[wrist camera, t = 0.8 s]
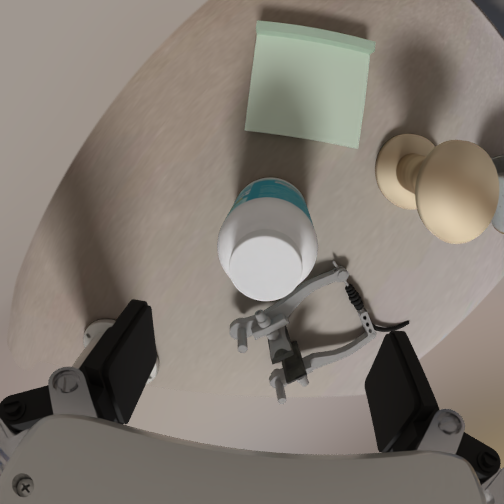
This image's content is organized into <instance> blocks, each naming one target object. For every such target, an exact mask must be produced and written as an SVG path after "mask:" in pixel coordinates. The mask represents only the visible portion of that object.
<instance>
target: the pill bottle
mask: <svg viewBox="0 0 504 504" xmlns="http://www.w3.org/2000/svg"><path fill="white" fill-rule="evenodd" d="M217 248H218V256H219V260H220V262H221V265H222V267H223V269H224V271H225V272H226V274H227V275H228V276H229V277H230V278H231V280H232V282H233V284H234V285H235V287H236V288H237V289H238V290H239V291H240V292H241V293H243V294H244V295H246V296H248V297H250V298H252V299H255V300H259V301H273V300H278V299H281V298H283V297H285V296H287V295H288V294H290V293H291V292H292V291H293V290H294V289H295V288H296V287H297V285H298V284H300V283H301V282H302V281H303V280H304V279H305V278H306V277H307V276H308V275H309V273H310V272H311V270H312V268H313V266H314V264H315V261H316V258H317V251H318V242H317V236H316V233H315V229H314V226H313V223H312V220H311V217H310V214H309V211H308V208H307V205H306V202H305V200H304V198H303V196H302V194H301V193H300V192H299V190H298V189H297V188H296V187H295V186H293V185H292V184H291V183H289V182H287V181H285V180H282V179H279V178H271V177H269V178H262V179H258V180H256V181H253V182H252V183H250V184H249V185H247V186H246V187H245V188H244V189H243V190H242V191H241V193H240V194H239V196H238V197H237V199H236V201H235V203H234V205H233V206H232V208H231V210H230V212H229V214H228V215H227V217H226V219H225V221H224V223H223V225H222V227H221V229H220V232H219V236H218V244H217Z"/></svg>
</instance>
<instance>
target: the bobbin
mask: <svg viewBox="0 0 504 504" xmlns="http://www.w3.org/2000/svg"><path fill="white" fill-rule="evenodd" d="M375 174H376V180H377V184H378V186H379V188H380V190H381V192H382V193H383V195H384V196H385V197H386V198H387V199H388V200H389V201H391V202H392V203H393V204H395V205H396V206H398V207H401V208H404V209H417V210H418V213H419V216H420V218H421V220H422V222H423V223H424V225H425V226H426V227H427V229H428V230H429V231H430V232H432V233H433V234H434V235H435V236H437V237H438V238H439V239H441V240H443V241H445V242H447V243H451V244H462V243H466V242H469V241H471V240H473V239H475V238H476V237H478V236H479V235H480V234H481V233H482V232H483V231H484V230H485V229H486V228H487V227H488V225H489V224H490V222H491V220H492V218H493V216H494V214H495V212H496V209H497V205H498V200H499V179H498V174H497V170H496V168H495V165H494V163H493V161H492V159H491V158H490V156H489V155H488V154H487V153H486V152H485V151H484V150H483V149H482V148H481V147H480V146H478V145H476V144H474V143H471V142H468V141H462V140H449V141H446V142H443V143H441V144H439V145H438V146H436V147H435V146H434V145H433V144H432V143H431V142H430V141H429V140H428V139H426V138H424V137H422V136H420V135H415V134H401V135H397V136H395V137H393V138H391V139H390V140H389V141H387V142H386V143H385V144H384V146H383V147H382V148H381V150H380V152H379V154H378V157H377V160H376V166H375Z"/></svg>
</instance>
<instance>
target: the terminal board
mask: <svg viewBox="0 0 504 504" xmlns="http://www.w3.org/2000/svg"><path fill="white" fill-rule="evenodd" d="M256 32H257V38H256V45H255V53H254V60H253V68H252V75H251V83H250V91H249V98H248V106H247V114H246V123H245V131H253V132H261V133H269V134H276V135H284V136H290V137H297V138H303V139H309V140H315V141H320V142H326V143H331V144H336V145H341V146H346V147H351V148H356V149H358V145H359V139H360V132H361V126H362V119H363V112H364V104H365V96H366V88H367V79H368V70H369V60H370V54H371V53H373V52H374V51H375V42H374V41H370V40H366V39H363V38H359V37H355V36H351V35H347V34H342V33H338V32H333V31H328V30H323V29H318V28H312V27H306V26H300V25H293V24H286V23H277V22H268V21H257V25H256Z"/></svg>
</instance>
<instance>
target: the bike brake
mask: <svg viewBox="0 0 504 504" xmlns="http://www.w3.org/2000/svg"><path fill="white" fill-rule="evenodd" d="M333 264H334V265H335V267H336V268H334V269H333V270H331V271H329V272H326V273H324V274H321V275H318V276H316V277H314V278H312V279H310V280H308V281H306V282H304V283H303V284H301V285H300V286H299V287H297V288H296V289H295V290H293V291H292V292H291V293H290V294H288V295H287V296H285V297H284V298H283V299H281V300H280V301H278V302H277V303H276V304H274V305H272V306H270V307H269V308H267V309H266V310H264V311H263V310H258V311H257V312H256V313H255V315H253V316H250V317H247V318H238V319H236V320H234V321H233V322H232V323H231V324H230V335H231V337H232V338H234V339H238V351H239V352H240V353H245V352H246V351H247V338H248V337H250V336H252V335H253V336H254V338H255V340H256V339H259V338H260V337H263V336H265V335H266V336H267V338H268V343H269V349H270V355H271V361H272V364H275V363H277V362H279V361H282V366H283V368H281V369H275V370H274V371H273V372H272V373H271V376H270V377H269V380H270V385H271V386H272V387H273V388H276V393H277V398H278V402H279V403H280V404H283V403H285V402H286V395H285V390H284V387H285V386H286V385H287V384H289V383H292V382H294V381H296V380H297V382H298V383H300V384H301V385H302V386H307V385H308V384H309V381H308V379H307V374H308V373H310V372H313V371H312V370H314V369H316V368H319V367H322V366H324V365H327V364H330V363H333V362H335V361H338V360H340V359H343V358H345V357H347V356H349V355H351V354H353V353H354V352H356V351H357V350H359V349H360V348H362V347H363V346H364V345H366V344H367V343H368V342H370V341H371V340H372V339H374V338H375V337H376V332H375V330H376V331H381V332H389V331H395V330H398V329H400V328H402V327H404V326H406V325H408V324H409V321H406V322H404V323H402V324H399V325H397V326H394V327H387V328H384V327H378V326H375V325H373V324H372V323H371V320H370V318H369V315H368V313H367V311H366V310H365V309H364V308H363V307H364V305H363V301H362V300H361V297H360V296H359V294H358V292H356V290H355V289H354V287H353V286H352V284H348V282H347V281H346V280H347V278H348V277H349V272H348V271H347V270H346V269H345V268H344V267H343V266H338V265H337V264H336V262H335V261H333ZM336 281H337V282H345V284H346V287H345V290H346V292H347V293H348V296H349V300H351V303H352V304H353V305H354V307H355V308H356V310H358V311H357V312H358V315H359V317H360V319H361V322H362V324H363V326H364V329H365V331H366V332H364V333H363V334H362V335H361V336H359V337H358V338H356V339H355V340H354V341H352V342H351V343H349V344H347V345H346V346H343V347H341V348H338V349H335V350H332V351H325V352H318V353H312V354H310V355H308V356H306V357H304V358H302V356H301V353H300V350H299V347H298V344H297V342H296V341H295V342H293V343H291V341H290V338H289V334H288V331H287V327H286V325H287V324H289V320H288V317H289V315H290V314H291V313H292V312H293V311H294V310H295V308H296V307H297V306H298V305H299V303H300V302H301V301H302V300H303V299H304V298H305V297H307V296H308V295H309V294H311V293H312V292H313V291H315V290H317V289H319V288H321V287H323V286H325V285H328V284H330V283H333V282H336Z"/></svg>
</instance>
